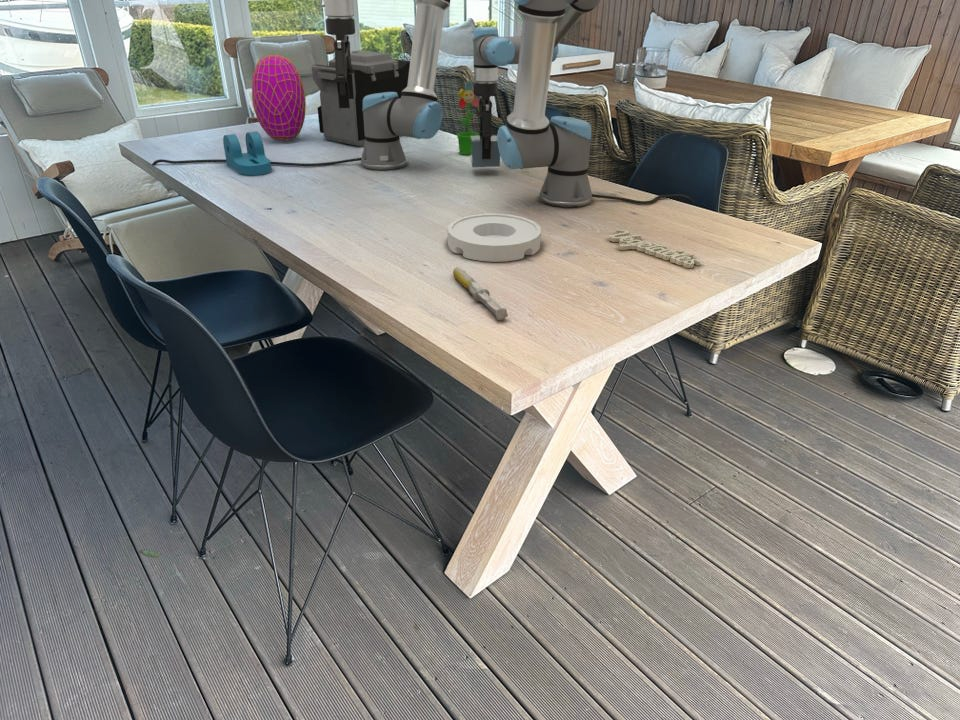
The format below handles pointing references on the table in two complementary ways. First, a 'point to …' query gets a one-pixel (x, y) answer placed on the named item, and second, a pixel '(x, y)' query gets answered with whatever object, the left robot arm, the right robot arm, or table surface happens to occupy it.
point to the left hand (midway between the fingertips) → (346, 103)
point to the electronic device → (356, 92)
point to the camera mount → (246, 154)
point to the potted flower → (467, 97)
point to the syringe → (479, 293)
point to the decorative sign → (653, 249)
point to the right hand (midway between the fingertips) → (485, 155)
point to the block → (477, 153)
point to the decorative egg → (278, 97)
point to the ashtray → (494, 237)
